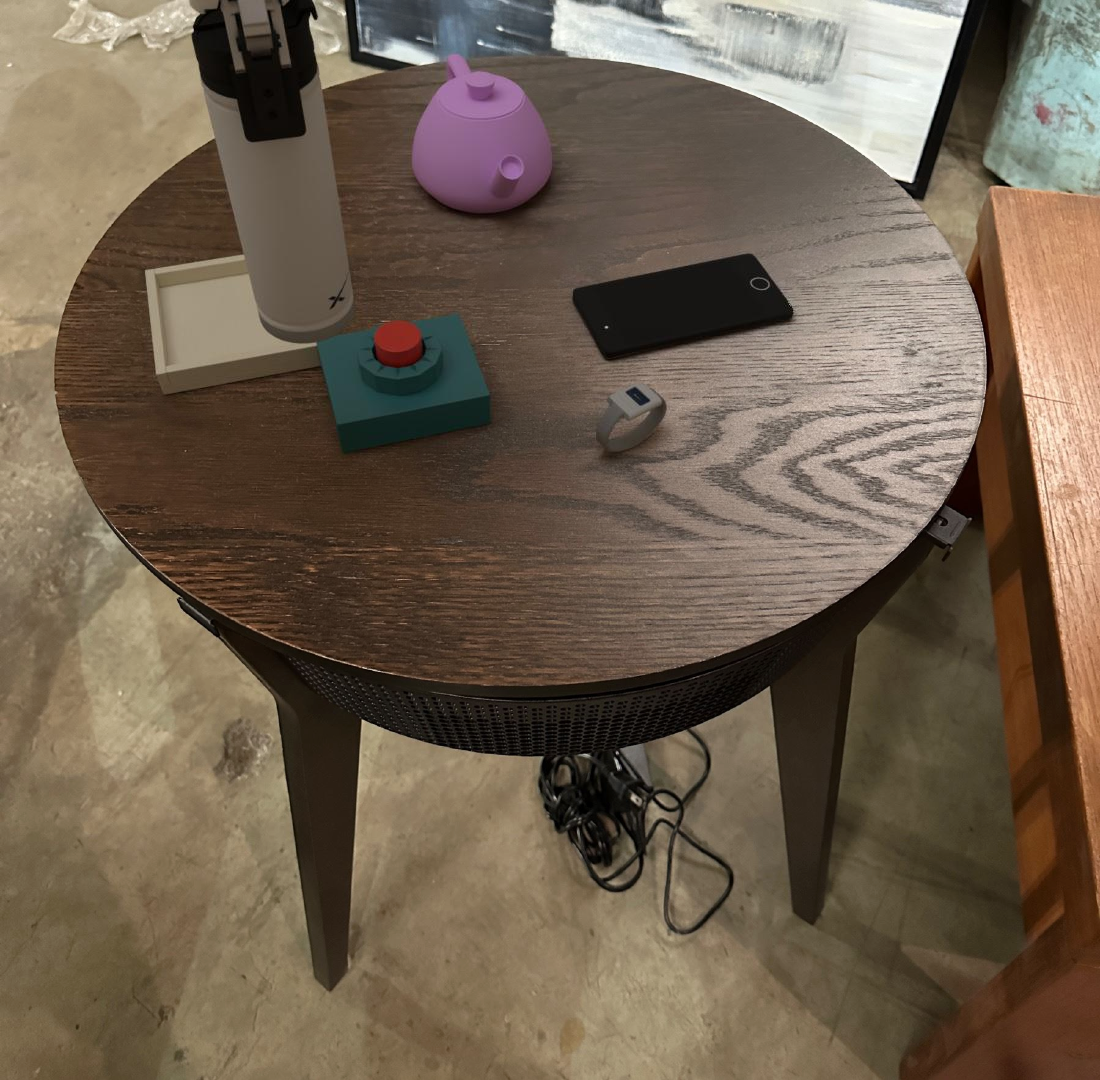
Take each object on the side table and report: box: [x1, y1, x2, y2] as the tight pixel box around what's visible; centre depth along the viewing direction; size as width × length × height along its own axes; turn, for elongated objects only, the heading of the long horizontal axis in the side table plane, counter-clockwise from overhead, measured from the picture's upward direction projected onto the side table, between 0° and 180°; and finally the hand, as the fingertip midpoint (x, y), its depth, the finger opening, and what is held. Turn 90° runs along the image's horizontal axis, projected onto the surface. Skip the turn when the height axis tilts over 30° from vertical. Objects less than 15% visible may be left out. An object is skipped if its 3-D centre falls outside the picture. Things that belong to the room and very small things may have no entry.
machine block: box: [316, 313, 492, 454], centre depth 82 cm, size 12×10×5 cm
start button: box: [374, 320, 423, 368], centre depth 80 cm, size 4×4×2 cm
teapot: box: [411, 53, 553, 214], centre depth 98 cm, size 14×20×11 cm
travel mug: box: [190, 0, 356, 344], centre depth 61 cm, size 6×7×20 cm
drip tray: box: [144, 254, 321, 396], centre depth 88 cm, size 14×14×2 cm
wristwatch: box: [595, 380, 668, 453], centre depth 80 cm, size 6×3×5 cm, turn 126°
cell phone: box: [572, 252, 795, 360], centre depth 91 cm, size 9×18×1 cm, turn 109°
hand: (268, 99), depth 57 cm, fingers closed on travel mug, 6 cm apart
